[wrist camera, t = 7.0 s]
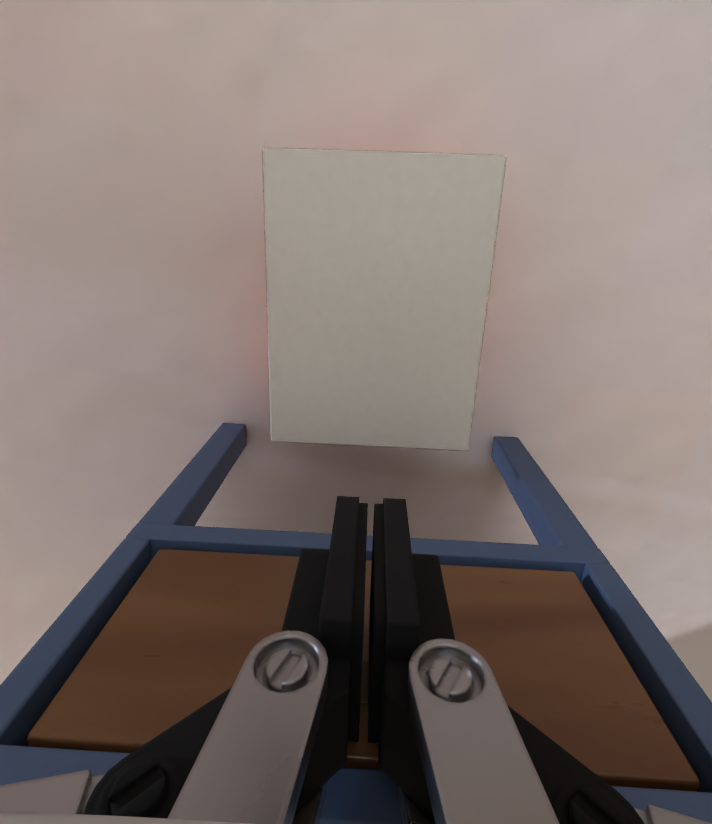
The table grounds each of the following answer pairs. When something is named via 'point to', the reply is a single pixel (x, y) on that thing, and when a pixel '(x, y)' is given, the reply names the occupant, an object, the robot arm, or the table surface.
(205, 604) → the drawer
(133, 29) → the table surface
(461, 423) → the storage box
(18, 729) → the drawer unit
